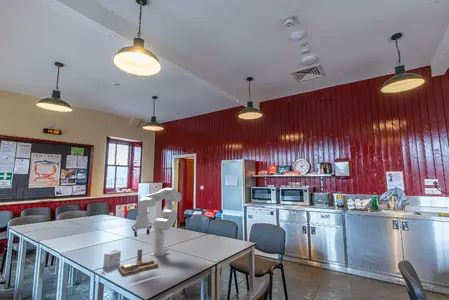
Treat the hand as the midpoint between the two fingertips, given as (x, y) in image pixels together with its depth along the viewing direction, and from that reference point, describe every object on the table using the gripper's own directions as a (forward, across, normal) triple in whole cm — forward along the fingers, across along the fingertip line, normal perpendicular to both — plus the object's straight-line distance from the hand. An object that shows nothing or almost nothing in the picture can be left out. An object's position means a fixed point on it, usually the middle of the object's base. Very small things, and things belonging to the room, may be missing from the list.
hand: (141, 235), depth 185 cm
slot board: (+22, +5, +12) cm, 25 cm away
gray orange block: (+22, +1, -1) cm, 22 cm away
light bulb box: (+22, +20, -7) cm, 31 cm away
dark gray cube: (+21, +10, +12) cm, 26 cm away
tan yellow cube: (+20, +14, +12) cm, 28 cm away
